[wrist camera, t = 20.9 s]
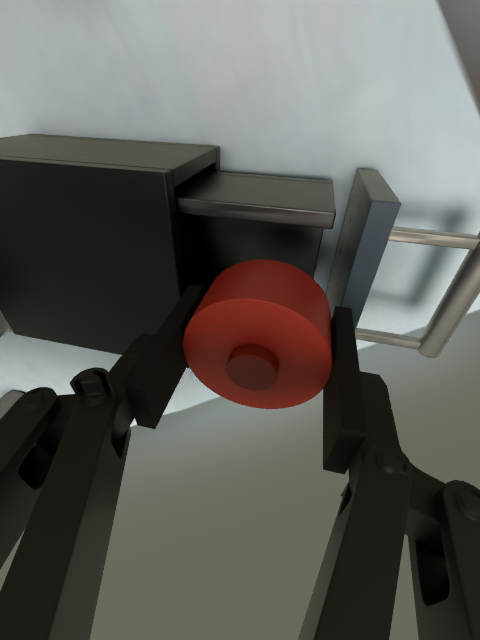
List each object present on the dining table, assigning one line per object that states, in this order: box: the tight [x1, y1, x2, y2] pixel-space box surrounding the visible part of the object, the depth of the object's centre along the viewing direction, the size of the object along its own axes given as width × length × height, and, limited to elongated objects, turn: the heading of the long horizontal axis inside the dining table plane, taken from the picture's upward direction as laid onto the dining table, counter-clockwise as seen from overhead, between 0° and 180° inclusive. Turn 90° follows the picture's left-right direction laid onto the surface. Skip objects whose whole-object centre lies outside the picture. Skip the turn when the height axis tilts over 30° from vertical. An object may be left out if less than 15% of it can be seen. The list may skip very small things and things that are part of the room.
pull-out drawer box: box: [174, 169, 480, 358], centre depth 19 cm, size 20×11×7 cm, turn 88°
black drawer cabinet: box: [0, 134, 220, 368], centre depth 21 cm, size 15×13×9 cm
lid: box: [183, 259, 333, 409], centre depth 14 cm, size 7×7×4 cm
